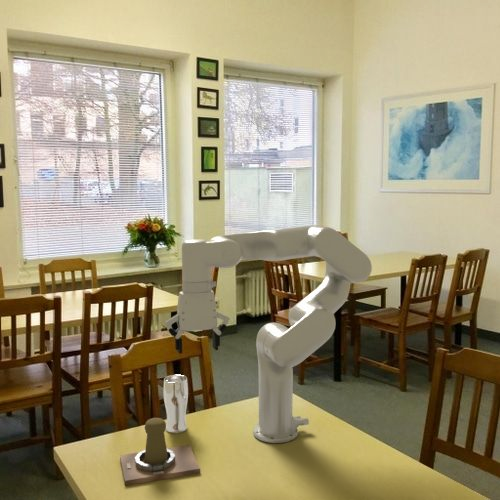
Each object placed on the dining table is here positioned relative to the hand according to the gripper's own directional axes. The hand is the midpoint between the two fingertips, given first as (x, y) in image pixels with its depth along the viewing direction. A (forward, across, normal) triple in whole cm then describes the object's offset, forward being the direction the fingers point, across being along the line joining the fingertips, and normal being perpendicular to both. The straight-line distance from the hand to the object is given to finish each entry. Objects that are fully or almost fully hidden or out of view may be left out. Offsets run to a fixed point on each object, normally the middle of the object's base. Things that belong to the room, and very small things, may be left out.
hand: (197, 350), depth 147 cm
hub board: (+26, +12, +8) cm, 30 cm away
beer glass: (+26, +4, -12) cm, 29 cm away
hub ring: (+25, +13, +8) cm, 29 cm away
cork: (+25, +13, +8) cm, 29 cm away
